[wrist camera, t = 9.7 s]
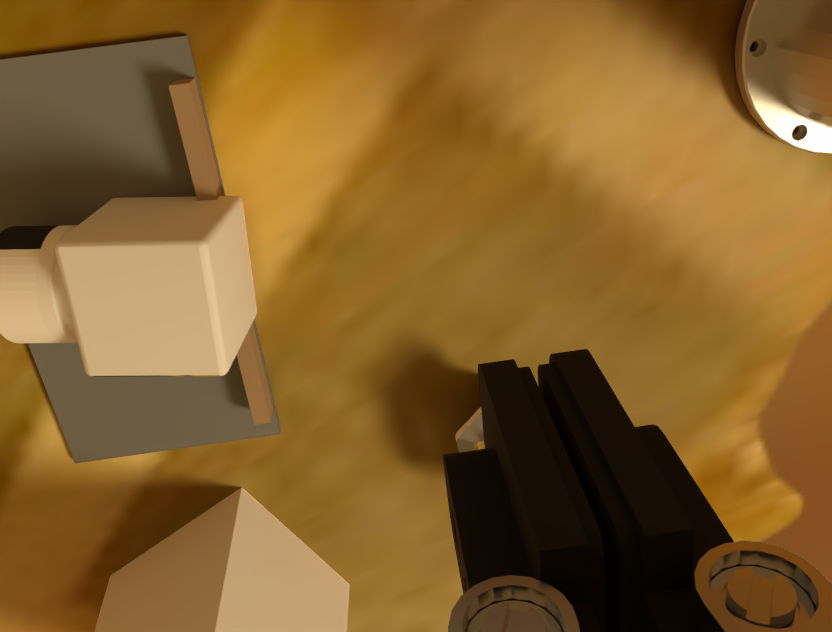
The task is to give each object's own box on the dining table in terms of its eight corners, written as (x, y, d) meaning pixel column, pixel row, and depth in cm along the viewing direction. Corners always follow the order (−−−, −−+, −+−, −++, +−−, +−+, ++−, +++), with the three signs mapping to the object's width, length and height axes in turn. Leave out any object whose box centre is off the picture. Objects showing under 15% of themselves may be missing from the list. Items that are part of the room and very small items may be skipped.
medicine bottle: (259, 314, 43) (53, 316, 44) (243, 193, 40) (22, 197, 40) (227, 378, 37) (-13, 380, 37) (205, 241, 34) (-57, 244, 34)
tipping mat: (187, 34, 37) (179, 39, 36) (280, 430, 48) (278, 449, 46) (-76, 69, 37) (-98, 75, 35) (76, 459, 48) (66, 479, 46)
